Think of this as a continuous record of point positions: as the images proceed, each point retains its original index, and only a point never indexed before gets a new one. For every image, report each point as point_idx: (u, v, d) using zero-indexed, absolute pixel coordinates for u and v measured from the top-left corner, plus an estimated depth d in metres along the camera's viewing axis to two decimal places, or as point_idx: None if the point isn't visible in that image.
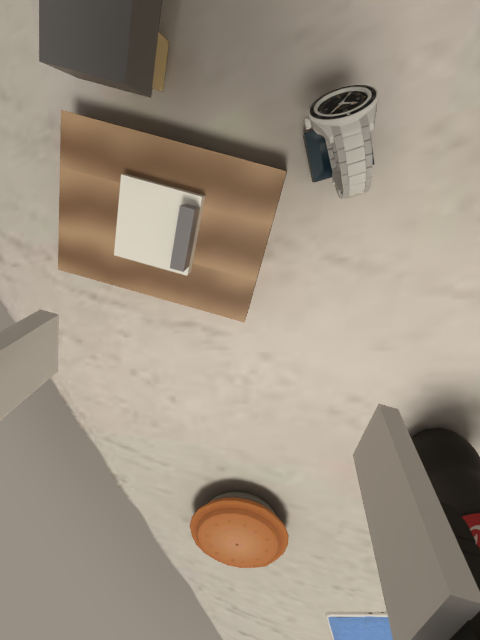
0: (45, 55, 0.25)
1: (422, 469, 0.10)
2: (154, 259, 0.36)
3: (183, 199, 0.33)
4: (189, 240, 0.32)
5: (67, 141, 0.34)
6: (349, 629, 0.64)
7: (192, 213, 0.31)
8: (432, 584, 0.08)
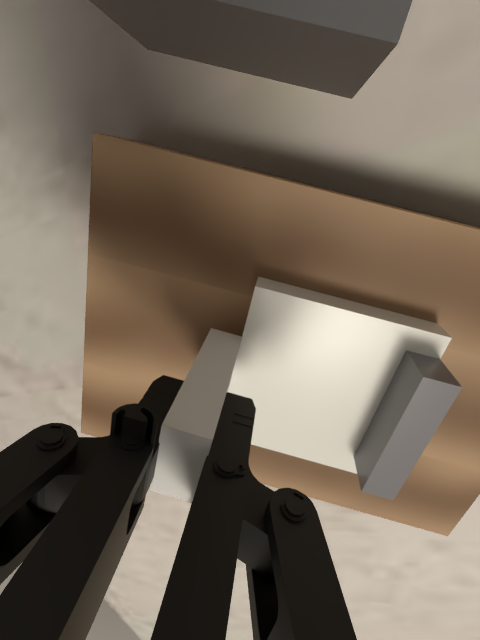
0: None
1: (230, 370, 0.13)
2: (305, 447, 0.17)
3: (402, 341, 0.14)
4: None
5: (105, 202, 0.15)
6: None
7: (453, 395, 0.12)
8: None
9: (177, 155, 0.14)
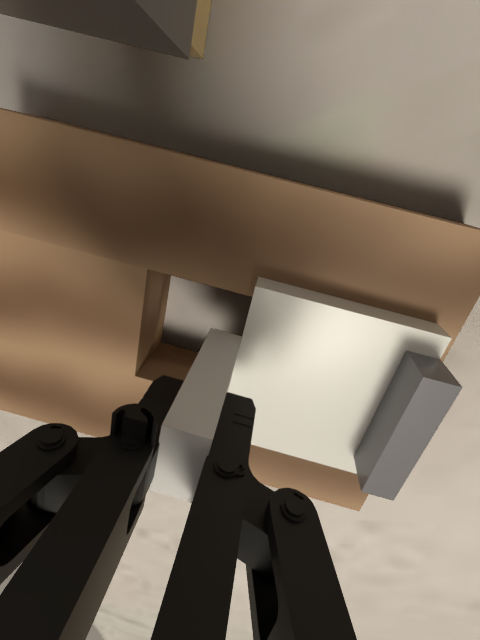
0: None
1: (230, 370, 0.13)
2: (305, 447, 0.17)
3: (403, 342, 0.14)
4: None
5: None
6: None
7: (453, 395, 0.12)
8: None
9: (54, 124, 0.14)
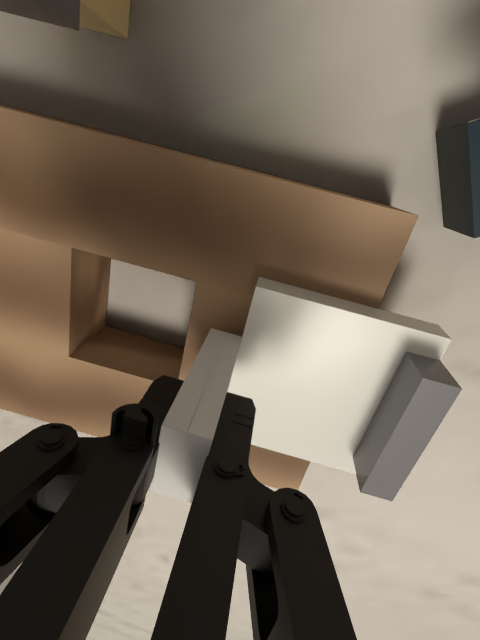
0: None
1: (230, 370, 0.13)
2: (305, 447, 0.17)
3: (402, 343, 0.14)
4: None
5: None
6: None
7: (452, 396, 0.12)
8: None
9: None
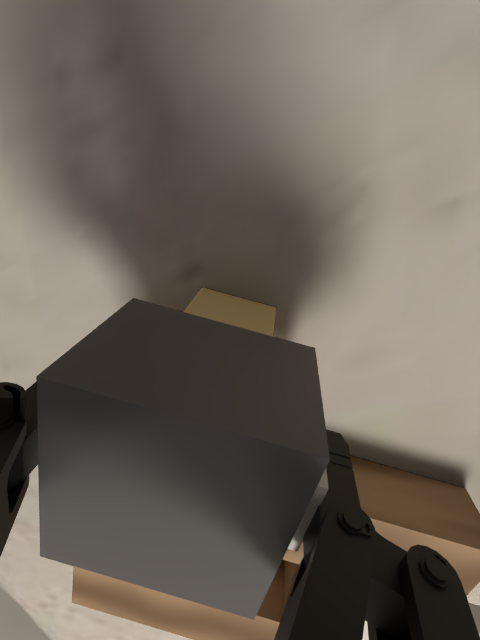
0: (55, 551, 0.10)
1: None
2: None
3: None
4: None
5: None
6: None
7: None
8: None
9: None
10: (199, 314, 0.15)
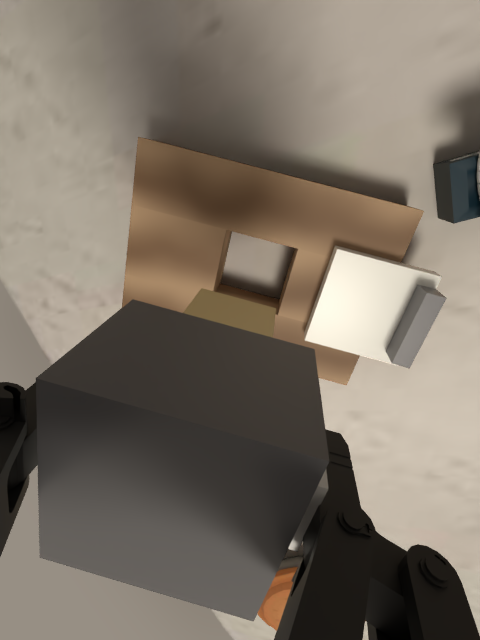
0: (54, 553, 0.10)
1: None
2: (357, 346, 0.29)
3: (415, 279, 0.26)
4: None
5: (143, 175, 0.27)
6: None
7: (441, 302, 0.24)
8: None
9: (182, 149, 0.26)
10: (199, 315, 0.15)
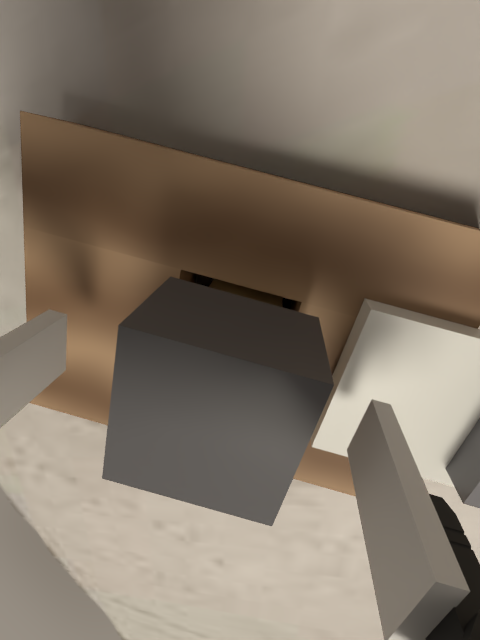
0: (115, 473, 0.13)
1: (412, 462, 0.11)
2: None
3: None
4: None
5: (36, 177, 0.16)
6: None
7: None
8: (419, 572, 0.08)
9: (98, 132, 0.15)
10: None
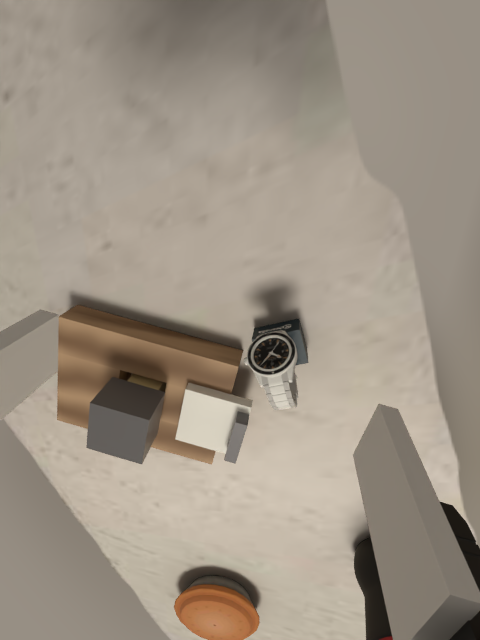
0: (90, 446, 0.38)
1: (422, 469, 0.10)
2: (209, 444, 0.43)
3: (236, 408, 0.41)
4: None
5: (63, 336, 0.42)
6: None
7: (245, 428, 0.39)
8: (432, 584, 0.08)
9: (87, 325, 0.41)
10: (136, 377, 0.43)
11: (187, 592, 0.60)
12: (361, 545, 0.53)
